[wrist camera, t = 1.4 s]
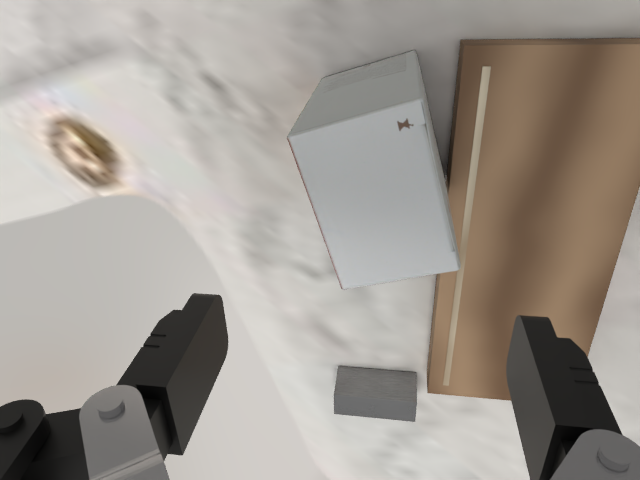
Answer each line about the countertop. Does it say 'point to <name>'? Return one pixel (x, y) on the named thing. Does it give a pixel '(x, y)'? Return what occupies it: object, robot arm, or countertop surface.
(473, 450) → the countertop surface
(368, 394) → the block
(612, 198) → the plank
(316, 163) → the small box
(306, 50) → the countertop surface
